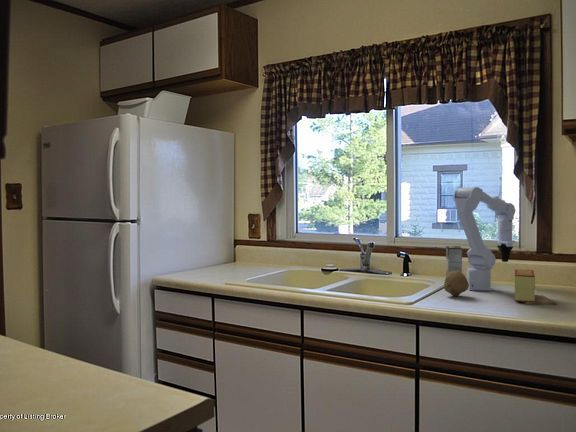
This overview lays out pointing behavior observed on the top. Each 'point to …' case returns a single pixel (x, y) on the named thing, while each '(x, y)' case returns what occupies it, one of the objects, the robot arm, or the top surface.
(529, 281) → the baking soda box
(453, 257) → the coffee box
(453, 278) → the natural sponge
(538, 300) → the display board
